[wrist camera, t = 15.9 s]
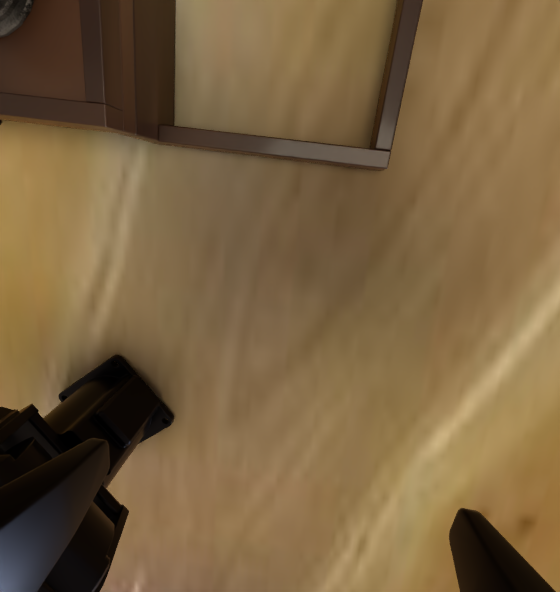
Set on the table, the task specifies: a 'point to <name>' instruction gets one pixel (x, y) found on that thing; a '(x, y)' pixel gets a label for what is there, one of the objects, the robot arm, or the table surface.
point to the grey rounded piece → (13, 15)
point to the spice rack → (156, 80)
